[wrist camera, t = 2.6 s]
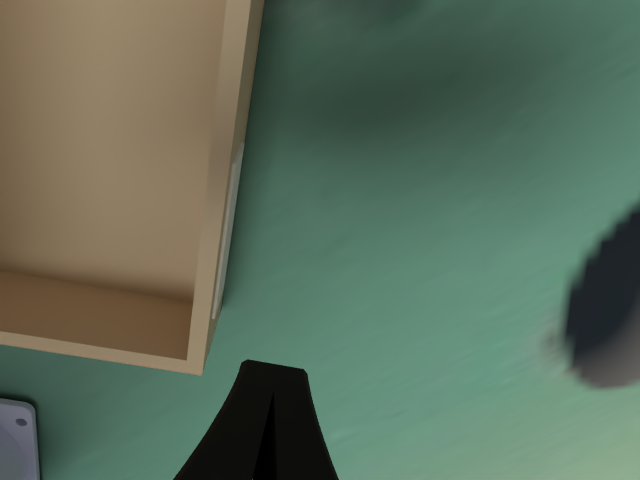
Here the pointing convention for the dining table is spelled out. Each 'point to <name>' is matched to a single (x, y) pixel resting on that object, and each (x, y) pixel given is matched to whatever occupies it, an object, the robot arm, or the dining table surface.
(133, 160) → the box
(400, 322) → the dining table surface
